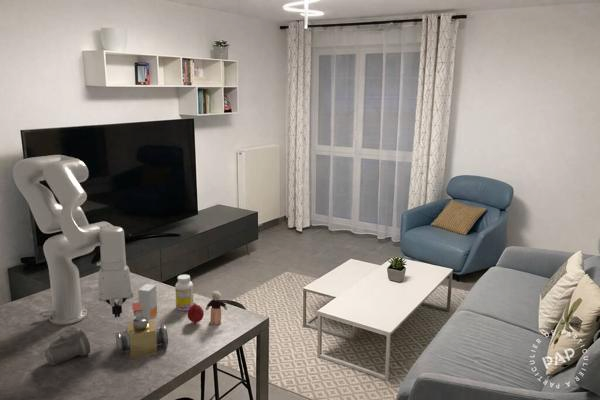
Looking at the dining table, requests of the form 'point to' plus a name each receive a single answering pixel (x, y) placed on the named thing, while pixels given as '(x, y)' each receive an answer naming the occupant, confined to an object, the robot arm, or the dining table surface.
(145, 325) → the lever
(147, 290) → the skincare box
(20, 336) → the dining table surface
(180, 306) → the supplement bottle
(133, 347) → the valve
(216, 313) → the grandmother figurine
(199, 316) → the onion
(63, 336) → the pipe fitting
